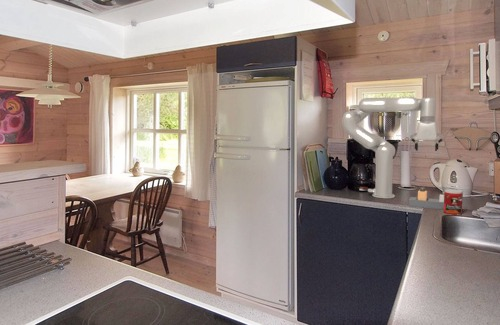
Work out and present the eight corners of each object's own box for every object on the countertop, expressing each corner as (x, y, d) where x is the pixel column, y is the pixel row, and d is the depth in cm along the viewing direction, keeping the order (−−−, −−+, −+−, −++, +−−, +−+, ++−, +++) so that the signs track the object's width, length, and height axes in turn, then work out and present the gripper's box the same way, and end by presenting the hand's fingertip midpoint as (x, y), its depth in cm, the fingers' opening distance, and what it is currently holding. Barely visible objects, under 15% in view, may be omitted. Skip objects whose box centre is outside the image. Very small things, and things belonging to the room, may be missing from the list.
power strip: (408, 206, 180) (409, 194, 180) (410, 203, 187) (410, 191, 187) (452, 210, 170) (453, 197, 170) (452, 207, 177) (453, 194, 176)
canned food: (444, 214, 163) (445, 191, 162) (442, 210, 170) (443, 188, 169) (463, 215, 160) (464, 192, 159) (460, 211, 167) (461, 189, 166)
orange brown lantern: (417, 206, 180) (418, 187, 179) (418, 204, 183) (418, 186, 182) (426, 207, 178) (426, 188, 177) (426, 205, 181) (427, 187, 180)
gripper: (409, 120, 191) (408, 150, 193) (445, 119, 182) (443, 151, 184) (411, 120, 198) (410, 149, 199) (445, 119, 189) (444, 150, 190)
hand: (426, 150), depth 192 cm, fingers open, 9 cm apart
